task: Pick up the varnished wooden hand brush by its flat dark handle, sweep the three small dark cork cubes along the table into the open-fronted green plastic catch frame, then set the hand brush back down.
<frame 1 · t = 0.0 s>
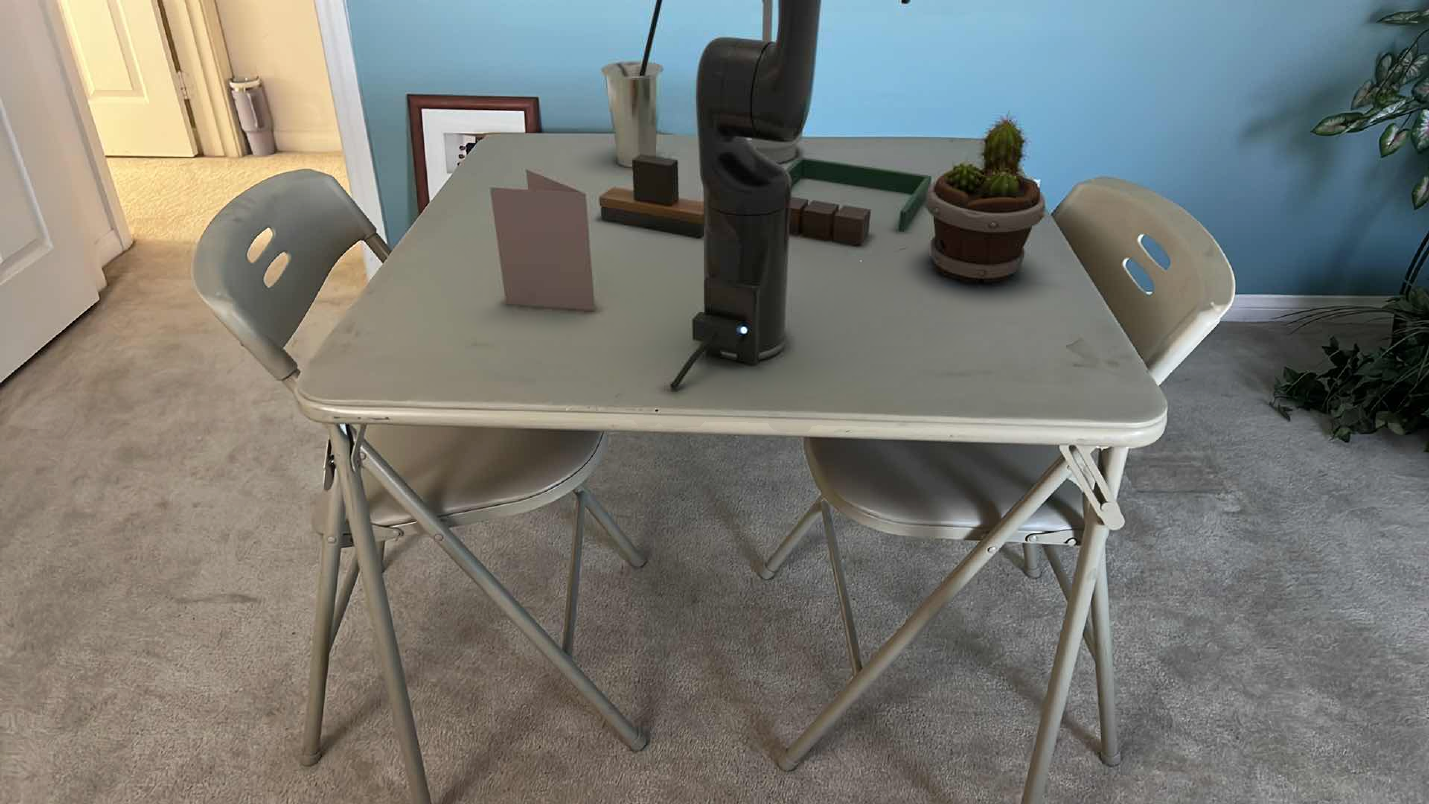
hand: (874, 0, 126), 29 cm above the table, tool pointing down, fingers open, 8 cm apart
cube 2: (819, 233, 134), on the table
cube 1: (850, 238, 133), on the table
glass: (639, 161, 160), on the table
flowerpot: (973, 269, 125), on the table
catch frame: (846, 202, 144), on the table
hand brush: (657, 222, 137), on the table
cube 3: (789, 228, 136), on the table
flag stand: (763, 154, 163), on the table
greeting card: (548, 304, 117), on the table
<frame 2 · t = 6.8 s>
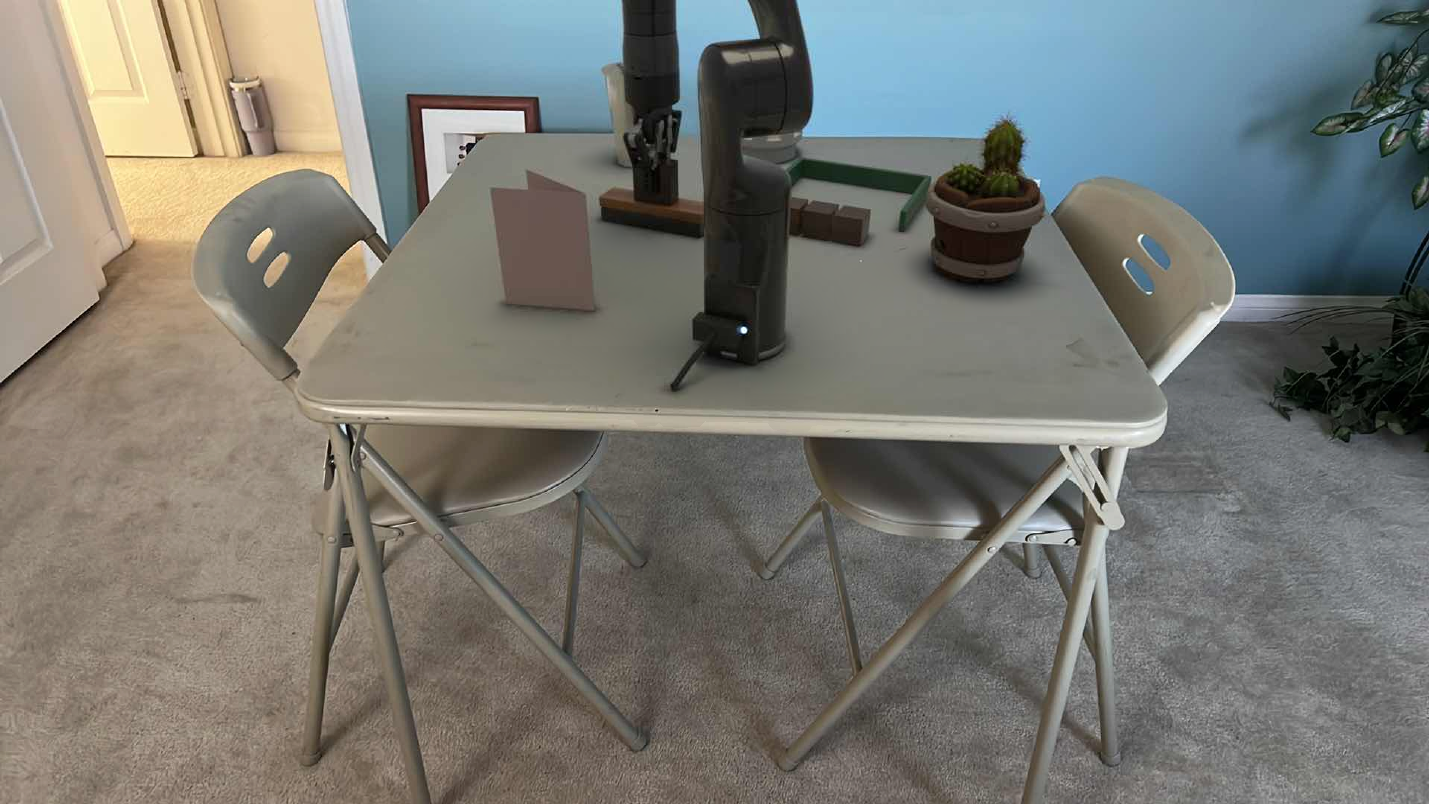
hand: (655, 189, 134), 5 cm above the table, tool pointing down, fingers closed on hand brush, 2 cm apart
hand brush: (657, 222, 137), on the table, touching gripper
everything else where it was.
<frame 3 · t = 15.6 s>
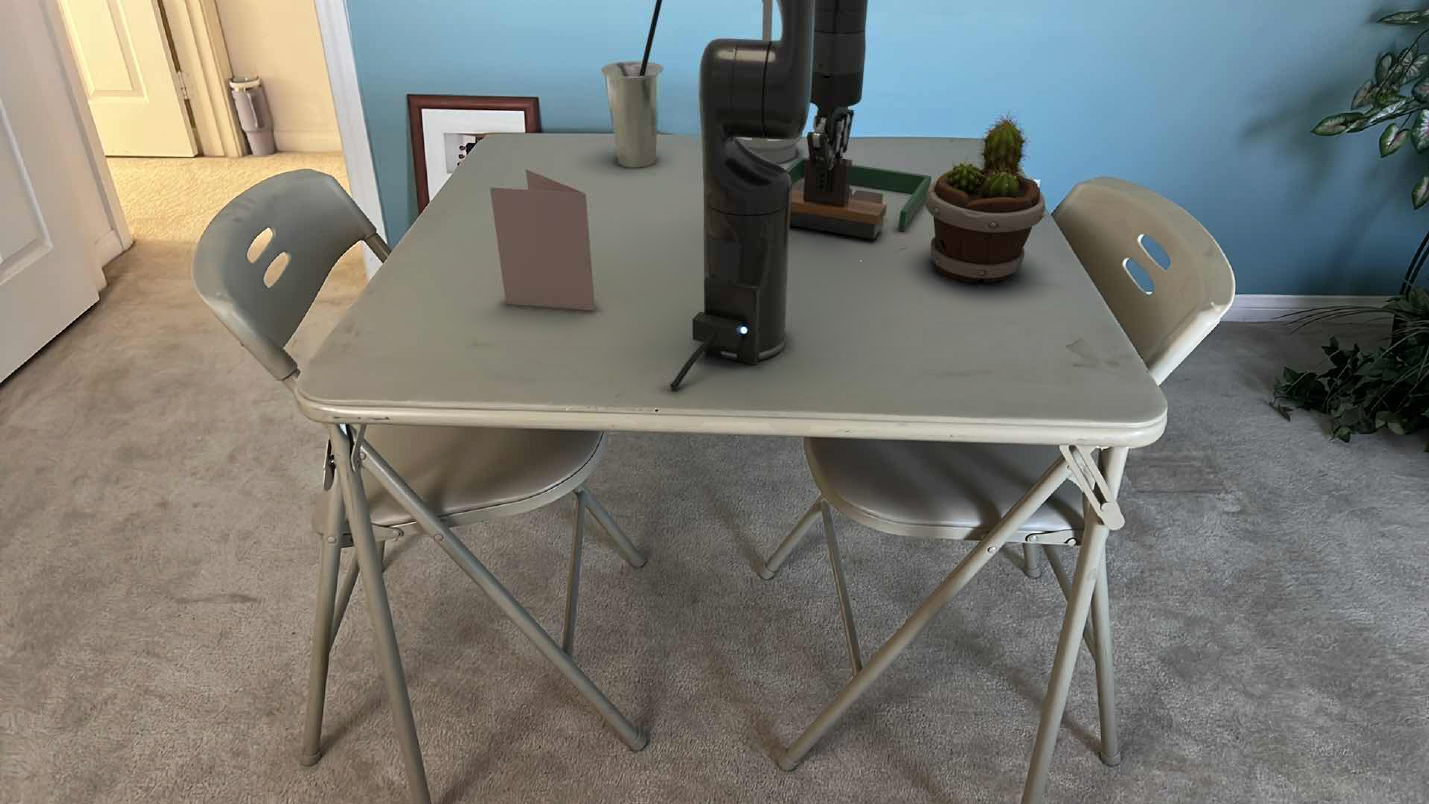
hand: (826, 190, 133), 6 cm above the table, tool pointing down, fingers closed on hand brush, 2 cm apart
cube 2: (833, 217, 139), on the table
cube 1: (863, 222, 138), on the table
hand brush: (824, 223, 135), point 1 cm above the table, touching gripper
cube 3: (804, 212, 141), on the table
everything else where it was.
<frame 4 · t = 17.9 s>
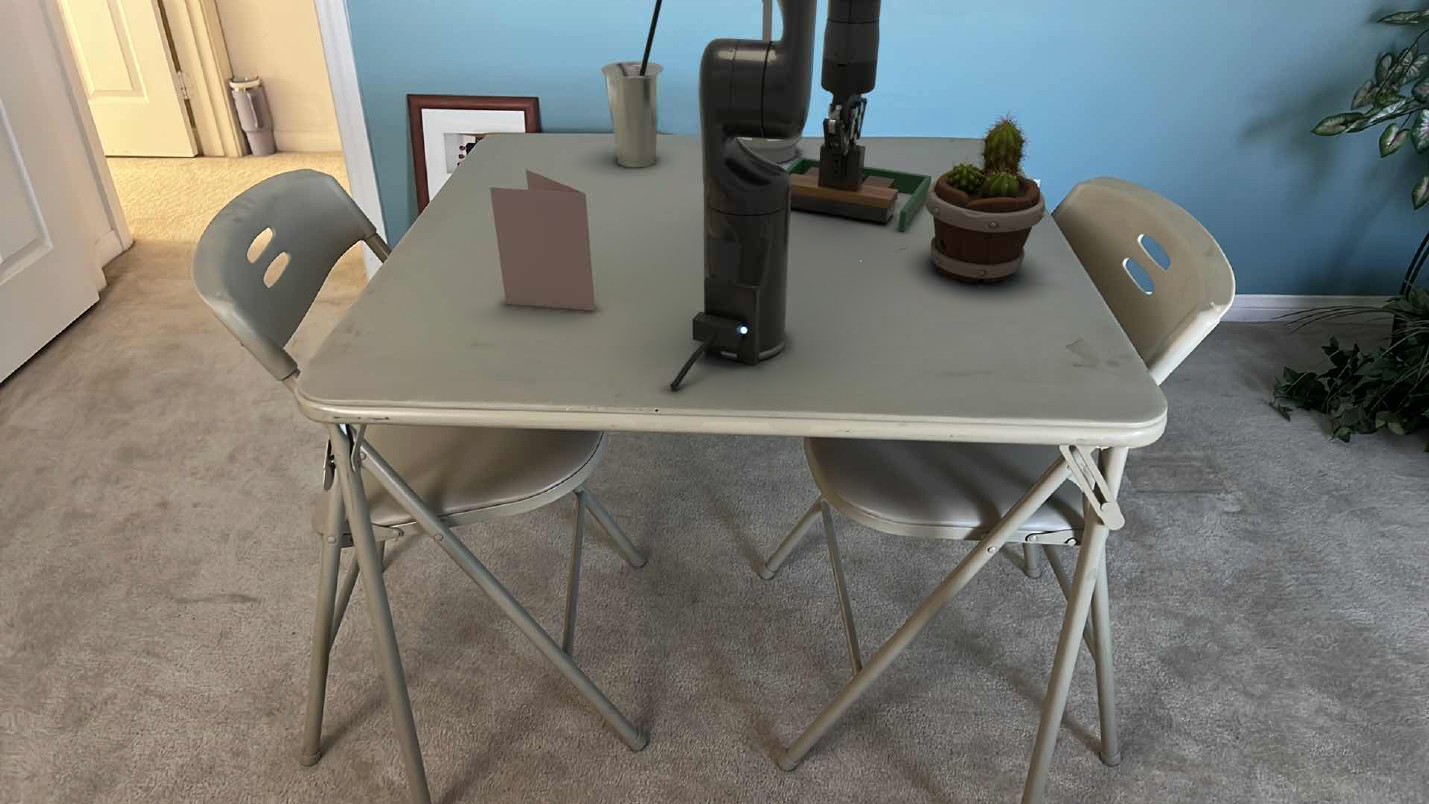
hand: (840, 175, 138), 6 cm above the table, tool pointing down, fingers closed on hand brush, 2 cm apart
cube 2: (846, 202, 144), on the table
cube 1: (876, 206, 142), on the table
hand brush: (838, 208, 140), point 1 cm above the table, touching cube 3, gripper
cube 3: (818, 197, 146), on the table, touching hand brush
everything else where it was.
when the fingers open (5 cm above the table, at t = 25.7 s): hand brush stays where it is, on the table.
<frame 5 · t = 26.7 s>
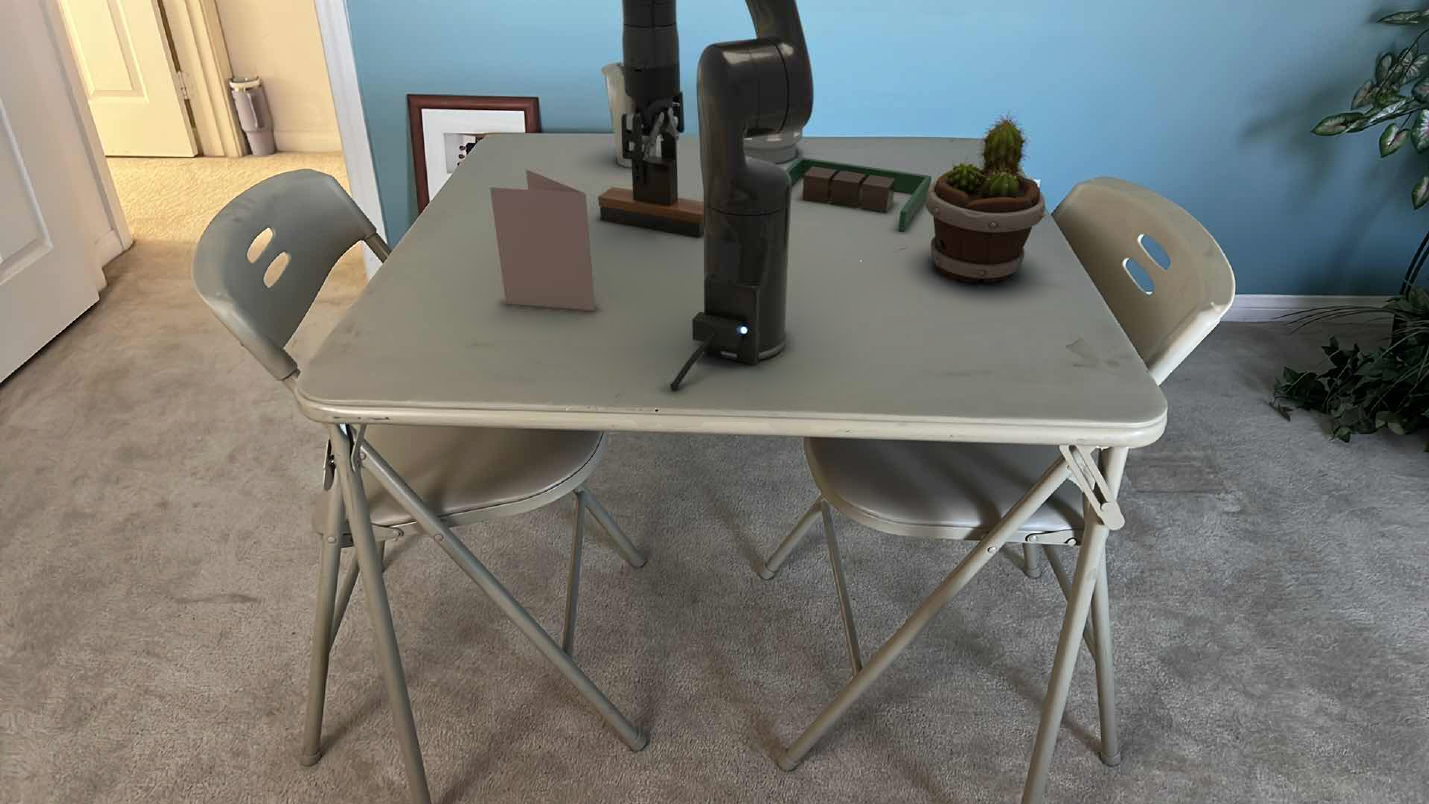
hand: (655, 176, 133), 7 cm above the table, tool pointing down, fingers open, 8 cm apart
hand brush: (656, 222, 137), on the table
cube 3: (818, 197, 146), on the table
everything else where it was.
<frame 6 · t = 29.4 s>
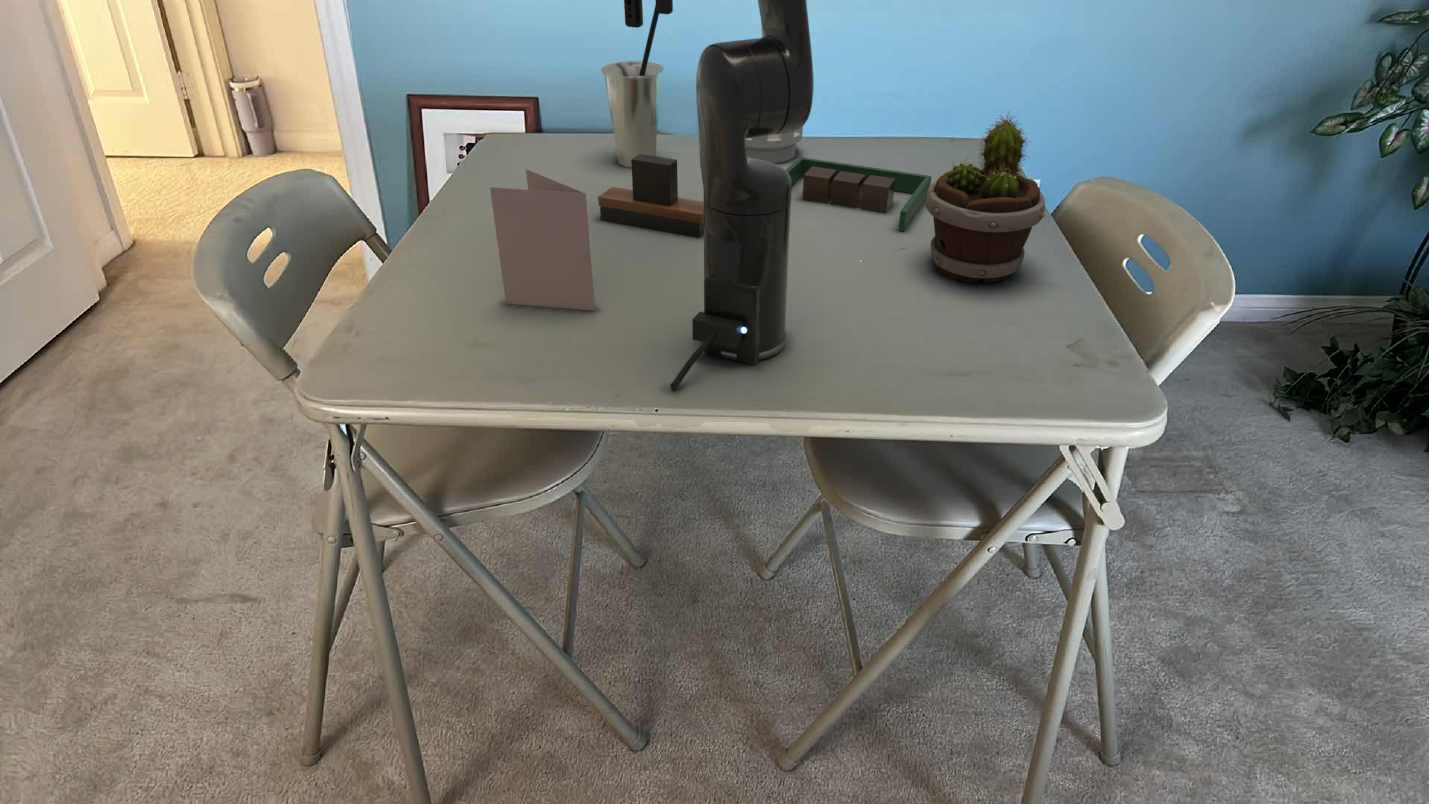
hand: (649, 19, 122), 28 cm above the table, tool pointing down, fingers open, 8 cm apart
nothing on the table moved.
at the end: cube 1 inside the target area on the catch frame (4.6 cm from its centre), point 0.0 cm above the catch frame's base; cube 2 inside the target area on the catch frame (0.3 cm from its centre), point 0.0 cm above the catch frame's base; cube 3 inside the target area on the catch frame (4.6 cm from its centre), point 0.0 cm above the catch frame's base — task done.
